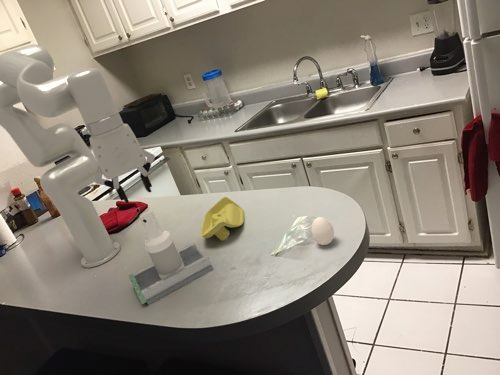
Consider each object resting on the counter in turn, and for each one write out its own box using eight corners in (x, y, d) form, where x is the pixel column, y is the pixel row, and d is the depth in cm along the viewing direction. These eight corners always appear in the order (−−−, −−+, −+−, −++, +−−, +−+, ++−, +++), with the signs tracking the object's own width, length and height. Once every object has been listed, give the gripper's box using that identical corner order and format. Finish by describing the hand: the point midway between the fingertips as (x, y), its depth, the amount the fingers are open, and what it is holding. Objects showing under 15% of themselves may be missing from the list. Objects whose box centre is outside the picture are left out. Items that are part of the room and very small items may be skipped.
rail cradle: (133, 286, 115) (128, 275, 113) (197, 252, 121) (193, 241, 119) (143, 307, 104) (138, 296, 103) (213, 269, 110) (208, 257, 109)
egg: (332, 250, 102) (325, 224, 99) (312, 249, 104) (304, 224, 102) (339, 237, 106) (332, 211, 103) (319, 237, 108) (312, 212, 106)
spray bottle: (156, 283, 111) (128, 224, 104) (166, 266, 116) (140, 209, 110) (180, 280, 108) (152, 219, 101) (189, 263, 114) (163, 205, 107)
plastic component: (205, 213, 137) (227, 193, 135) (221, 229, 139) (244, 209, 136) (198, 241, 118) (224, 218, 116) (217, 258, 120) (243, 236, 118)
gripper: (69, 143, 90) (106, 216, 97) (144, 112, 96) (174, 184, 103) (66, 138, 97) (101, 207, 104) (137, 110, 102) (166, 177, 109)
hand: (137, 195), depth 103 cm, fingers open, 5 cm apart
